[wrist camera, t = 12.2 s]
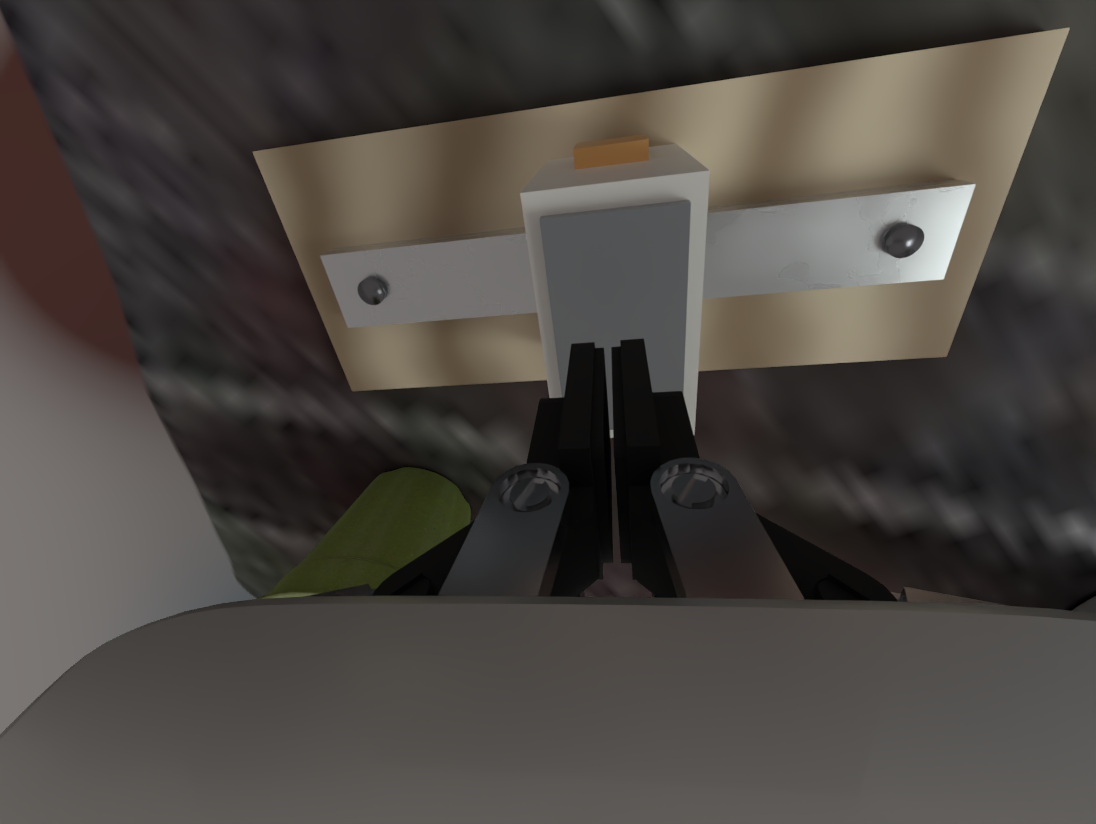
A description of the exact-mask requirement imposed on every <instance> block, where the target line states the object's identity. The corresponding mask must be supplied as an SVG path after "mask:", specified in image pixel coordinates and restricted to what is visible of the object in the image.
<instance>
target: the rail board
mask: <svg viewBox="0 0 1096 824" xmlns="http://www.w3.org/2000/svg"><path fill="white" fill-rule="evenodd" d="M1069 29H1070V28H1064V29H1056V30H1049V31H1042V32H1036V33H1029V34H1022V35H1016V36H1009V37H1003V38H996V39H990V40H983V41H976V42H970V43H963V44H957V45H950V46H943V47H937V48H930V49H924V50H917V51H911V52H904V53H897V54H891V55H884V56H878V57H871V58H864V59H858V60H851V61H845V62H838V63H832V64H825V65H818V66H812V67H805V68H799V69H792V70H785V71H779V72H772V73H766V74H759V75H753V76H746V77H739V78H733V79H726V80H720V81H713V82H706V83H700V84H693V85H687V86H680V87H674V88H667V89H660V90H654V91H647V92H641V93H634V94H627V95H621V96H614V97H608V98H601V99H595V100H588V101H581V102H575V103H568V104H562V105H555V106H548V107H542V108H535V109H529V110H522V111H516V112H509V113H502V114H496V115H489V116H483V117H476V118H469V119H463V120H456V121H450V122H443V123H437V124H430V125H423V126H417V127H410V128H404V129H397V130H390V131H384V132H377V133H371V134H364V135H358V136H351V137H344V138H338V139H331V140H325V141H318V142H311V143H305V144H298V145H292V146H285V147H279V148H272V149H266V150H260V151H254V152H253V155H254V157H255V159H256V162H257V164H258V167H259V169H260V171H261V174H262V176H263V179H264V181H265V183H266V186H267V188H268V191H269V193H270V195H271V198H272V200H273V203H274V205H275V207H276V210H277V212H278V215H279V217H280V219H281V222H282V224H283V227H284V229H285V231H286V234H287V236H288V239H289V241H290V243H291V246H292V248H293V251H294V253H295V255H296V258H297V260H298V263H299V265H300V267H301V270H302V272H303V275H304V277H305V279H306V282H307V284H308V287H309V289H310V291H311V294H312V296H313V299H314V301H315V303H316V306H317V308H318V311H319V313H320V315H321V318H322V320H323V323H324V325H325V327H326V330H327V332H328V335H329V337H330V339H331V342H332V344H333V347H334V349H335V351H336V354H337V356H338V359H339V361H340V363H341V366H342V368H343V371H344V373H345V375H346V378H347V380H348V383H349V385H350V387H351V390H352V391H365V390H382V389H400V388H417V387H434V386H451V385H468V384H486V383H503V382H520V381H537V380H547V376H546V369H545V363H544V356H543V349H542V342H541V335H540V328H539V321H538V314H537V313H525V314H512V315H500V316H488V317H476V318H463V319H451V320H439V321H426V322H414V323H402V324H390V325H377V326H365V327H353V328H348V327H347V324H346V322H345V319H344V317H343V314H342V311H341V309H340V306H339V304H338V301H337V299H336V296H335V293H334V291H333V288H332V286H331V283H330V281H329V278H328V275H327V273H326V270H325V268H324V265H323V263H322V260H321V257H320V255H322V254H324V253H325V252H327V251H329V250H331V249H332V248H340V247H349V246H358V245H367V244H376V243H385V242H394V241H403V240H412V239H421V238H430V237H439V236H448V235H457V234H466V233H475V232H484V231H493V230H502V229H511V228H520V227H525V224H524V217H523V210H522V203H521V196H520V192H521V191H522V190H523V189H524V188H525V187H526V186H527V184H528V183H529V182H530V181H531V180H532V179H533V178H534V176H535V175H536V174H537V173H538V172H539V171H540V170H541V168H542V167H543V166H544V165H545V164H546V163H547V162H548V160H553V159H561V158H568V157H574V153H573V148H574V147H575V145H576V144H577V143H583V142H591V141H598V140H606V139H613V138H621V137H628V136H636V135H643V134H645V135H646V136H647V138H648V139H649V147H654V146H661V145H669V144H677V145H678V146H680V147H681V148H682V149H683V150H685V151H686V152H687V153H688V154H690V155H691V156H692V157H693V158H695V159H696V160H697V161H699V162H700V163H701V164H702V165H704V166H705V167H706V168H707V169H709V170H710V176H709V194H708V206H717V205H726V204H735V203H744V202H753V201H762V200H771V199H780V198H789V197H798V196H807V195H816V194H824V193H833V192H842V191H851V190H860V189H869V188H878V187H887V186H896V185H905V184H914V183H923V182H932V181H941V180H950V179H958V180H962V181H966V182H970V183H974V184H976V185H975V188H974V191H973V194H972V197H971V200H970V203H969V206H968V209H967V212H966V215H965V218H964V221H963V223H962V226H961V229H960V232H959V235H958V238H957V241H956V244H955V247H954V250H953V253H952V256H951V259H950V262H949V265H948V268H947V271H946V274H945V277H944V279H941V280H929V281H917V282H905V283H892V284H880V285H868V286H856V287H843V288H831V289H819V290H807V291H794V292H782V293H770V294H758V295H745V296H733V297H721V298H708V299H702V314H701V332H700V349H699V366H698V371H709V370H726V369H744V368H761V367H778V366H795V365H812V364H830V363H847V362H864V361H881V360H898V359H916V358H933V357H947V354H948V351H949V349H950V346H951V343H952V341H953V338H954V335H955V333H956V330H957V327H958V325H959V322H960V319H961V317H962V314H963V311H964V309H965V306H966V303H967V301H968V298H969V295H970V293H971V290H972V287H973V285H974V282H975V279H976V277H977V274H978V271H979V269H980V266H981V263H982V261H983V258H984V255H985V253H986V250H987V247H988V245H989V242H990V239H991V237H992V234H993V231H994V229H995V226H996V223H997V221H998V218H999V215H1000V213H1001V210H1002V207H1003V205H1004V202H1005V199H1006V197H1007V194H1008V192H1009V189H1010V186H1011V184H1012V181H1013V178H1014V176H1015V173H1016V170H1017V168H1018V165H1019V162H1020V160H1021V157H1022V154H1023V152H1024V149H1025V146H1026V144H1027V141H1028V138H1029V136H1030V133H1031V130H1032V128H1033V125H1034V122H1035V120H1036V117H1037V114H1038V112H1039V109H1040V106H1041V104H1042V101H1043V98H1044V96H1045V93H1046V90H1047V88H1048V85H1049V82H1050V80H1051V77H1052V74H1053V72H1054V69H1055V66H1056V64H1057V61H1058V58H1059V56H1060V53H1061V50H1062V48H1063V45H1064V42H1065V40H1066V37H1067V34H1068V32H1069Z"/></svg>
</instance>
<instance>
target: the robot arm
mask: <svg viewBox="0 0 1096 824" xmlns="http://www.w3.org/2000/svg"><path fill="white" fill-rule="evenodd" d="M611 356H612V397H613V438H614V460H615V475H616V491H617V506H618V521H619V536H620V552H621V563H632V573H633V579H636V580H637V581H638V582H639V583H641V584H642V585H643V586H644V587H646V588H647V589H648V590H649V591H650V592H652V598H642V597H585V593H584V590H585V589H586V588H588V587H589V586H590V585H591V584H592V583H594V582H595V581H596V580H597V579H603V563H613V540H612V480H611V441H610V426H609V412H608V397H607V383H606V368H605V354H604V348H595V342H588V343H574V344H571V349H570V357H569V364H568V372H567V380H566V387H565V395H564V397H561V398H543V399H540V402H539V406H538V411H537V416H536V421H535V425H534V430H533V435H532V440H531V445H530V449H529V454H528V459H527V464H523V465H519V466H516V467H514V468H512V469H509V470H507V471H506V472H504V473H503V474H502V475H501V476H499V477H498V478H497V479H496V481H495V482H494V484H493V485H492V487H491V489H490V491H489V493H488V495H487V497H486V499H485V501H484V503H483V505H482V507H481V509H480V511H479V513H478V515H477V517H476V519H475V521H473V522H472V523H470V524H469V525H467V526H465V527H464V528H462V529H461V530H459V531H458V532H456V533H455V534H453V535H451V536H450V537H448V538H447V539H445V540H444V541H442V542H441V543H439V544H438V545H436V546H434V547H433V548H431V549H430V550H428V551H427V552H425V553H424V554H422V555H420V556H419V557H417V558H416V559H414V560H413V561H411V562H410V563H408V564H407V565H405V566H403V567H402V568H400V569H399V570H397V571H396V572H394V573H393V574H391V575H390V576H389V577H388V578H386V579H385V580H384V581H383V582H382V583H381V584H380V585H379V586H378V588H376V589H371V588H370V586H369V584H364V585H359V586H354V587H349V588H344V589H339V590H334V591H329V592H324V593H319V594H314V595H309V596H304V597H286V598H267V599H254V600H245V601H238V602H229V603H222V604H217V605H212V606H208V607H203V608H198V609H194V610H189V611H184V612H181V613H178V614H176V615H173V616H169V617H166V618H163V619H160V620H157V621H154V622H151V623H148V624H146V625H143V626H141V627H138V628H136V629H134V630H131V631H129V632H127V633H124V634H122V635H120V636H118V637H116V638H114V639H112V640H110V641H108V642H106V643H104V644H102V645H101V646H99V647H98V648H96V649H95V650H93V651H92V652H90V653H89V654H87V655H85V656H84V657H83V658H82V659H80V660H79V661H78V662H77V663H75V664H74V665H73V666H72V667H70V668H69V669H68V670H67V671H66V672H65V673H63V674H62V675H61V676H60V677H59V678H58V679H57V680H56V681H55V682H54V683H53V684H52V685H51V686H49V687H48V688H47V689H46V690H45V691H44V692H43V693H42V694H41V695H40V696H39V697H38V698H37V699H35V700H34V701H33V702H32V703H31V704H30V705H29V706H28V707H27V708H26V709H25V710H24V711H23V712H22V713H21V714H20V715H19V716H18V717H17V718H16V719H15V720H14V721H13V722H12V723H11V724H10V725H9V726H8V727H7V728H6V729H5V730H4V731H3V732H2V733H1V734H0V824H1096V596H1094V597H1092V598H1091V599H1089V600H1087V601H1086V602H1084V603H1082V604H1080V605H1079V606H1077V607H1076V608H1075V609H1073V610H1072V611H1068V610H1059V609H1051V608H1034V607H1016V606H1007V605H1002V604H996V603H991V602H985V601H980V600H974V599H968V598H963V597H957V596H952V595H946V594H941V593H935V592H930V591H924V590H919V589H913V588H908V587H904V588H903V590H902V592H901V594H899V593H894V592H890V591H889V590H888V589H887V588H886V587H885V586H884V585H883V584H881V583H880V582H878V581H877V580H875V579H874V578H872V577H871V576H869V575H868V574H866V573H864V572H862V571H861V570H859V569H857V568H855V567H853V566H851V565H850V564H848V563H846V562H844V561H842V560H840V559H839V558H837V557H835V556H833V555H831V554H830V553H828V552H826V551H824V550H822V549H820V548H819V547H817V546H815V545H813V544H811V543H809V542H808V541H806V540H804V539H802V538H800V537H799V536H797V535H795V534H793V533H791V532H789V531H788V530H786V529H784V528H782V527H780V526H778V525H777V524H775V523H773V522H771V521H769V520H768V519H766V518H764V517H762V516H760V515H758V514H757V513H755V511H754V510H753V508H752V506H751V504H750V503H749V501H748V499H747V497H746V496H745V494H744V492H743V490H742V489H741V487H740V485H739V483H738V482H737V480H736V478H735V477H734V476H733V475H732V474H731V472H730V471H729V470H727V469H726V468H724V467H723V466H721V465H720V464H717V463H715V462H712V461H709V460H706V459H700V458H699V454H698V451H697V447H696V443H695V439H694V435H693V431H692V427H691V423H690V419H689V415H688V411H687V407H686V403H685V400H684V396H683V393H682V391H669V392H652V387H651V381H650V374H649V368H648V362H647V355H646V349H645V342H644V338H643V339H629V340H620V346H618V347H611Z"/></svg>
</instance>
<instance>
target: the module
mask: <svg viewBox="0 0 1096 824" xmlns="http://www.w3.org/2000/svg"><path fill="white" fill-rule="evenodd" d="M573 153H574V157H568V158H561V159H553V160H548V162H547V163H546V164H545V165H544V166H543V167H542V168H541V170H540V171H539V172H538V173H537V174H536V175H535V176H534V178H533V179H532V180H531V181H530V182H529V183H528V184H527V186H526V187H525V188H524V189H523V190H522V191H521V192H520V196H521V203H522V210H523V217H524V224H525V231H526V238H527V245H528V252H529V259H530V266H531V273H532V280H533V286H534V293H535V300H536V307H537V314H538V321H539V328H540V335H541V342H542V349H543V356H544V363H545V369H546V376H547V383H548V390H549V397H550V398H561V397H564V395H565V387H566V380H567V372H568V364H569V357H570V349H571V344H574V343H588V342H595V348H604V354H605V368H606V383H607V397H608V412H609V426H610V438H613V397H612V356H611V347H618V346H620V340H629V339H643V338H644V342H645V349H646V355H647V362H648V368H649V374H650V381H651V387H652V392H669V391H682V393H683V396H684V400H685V403H686V407H687V411H688V415H689V419H690V423H691V427H692V431H693V435H695V418H696V401H697V383H698V366H699V349H700V332H701V314H702V297H703V280H704V263H705V245H706V228H707V211H708V194H709V176H710V170H709V169H707V168H706V167H705V166H704V165H702V164H701V163H700V162H699V161H697V160H696V159H695V158H693V157H692V156H691V155H690V154H688V153H687V152H686V151H685V150H683V149H682V148H681V147H680V146H678V145H677V144H669V145H661V146H654V147H649V139H648V138H647V136H646V135H645V134H643V135H636V136H628V137H621V138H613V139H606V140H598V141H591V142H583V143H577V144H576V145H575V147H574V148H573Z"/></svg>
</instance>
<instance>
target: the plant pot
mask: <svg viewBox="0 0 1096 824" xmlns="http://www.w3.org/2000/svg"><path fill="white" fill-rule="evenodd" d="M470 518H471V510H470V506H469V503H467V502H466V500H465V499H464V497H463V495H462V494H461V492H460V490H459V488H458V487H457V486H456V485H455V484H453V483H452V482H451V481H449V480H448V479H446V478H444V477H443V476H441V475H439V474H436V473H434V472H431V471H428V470H425V469H420V468H412V467H403V468H400V469H397V470H394V471H390V472H385V473H382V474H380V475H379V476H377V477H376V478H375V479H374V480H373V481H372V482H371V484H370V485H369V486H368V487H367V488H366V489H365V490H364V492H363V493H362V494H361V495H360V496H359V497H358V498H357V500H356V501H355V502H354V503H353V504H352V505H351V506H350V508H349V509H348V510H347V511H346V512H345V513H344V514H343V516H342V517H341V518H340V519H339V520H338V521H337V522H336V523H335V525H334V526H333V527H332V528H331V529H330V530H329V531H328V533H327V534H326V535H325V536H324V537H323V538H322V539H321V540H320V542H319V543H318V544H317V545H316V546H315V547H314V548H313V550H312V551H311V552H310V553H309V554H308V555H307V556H306V557H305V559H304V560H303V561H302V562H301V563H300V564H299V565H298V566H296V567H295V568H293V569H291V570H290V571H289V572H288V573H287V574H286V575H285V576H284V577H283V578H282V579H281V580H280V581H279V582H278V583H277V584H276V586H275V587H274V588H273V589H272V590H271V591H270V592H269V593H268V594H267V595H265V596H262V597H259V598H257V599H267V598H286V597H304V596H309V595H314V594H319V593H324V592H329V591H334V590H339V589H344V588H349V587H354V586H359V585H364V584H369V586H370V588H371V589H376V588H378V586H379V585H380V584H381V583H382V582H383V581H384V580H385V579H386V578H388V577H389V576H390V575H391V574H393V573H394V572H396V571H397V570H399V569H400V568H402V567H403V566H405V565H407V564H408V563H410V562H411V561H413V560H414V559H416V558H417V557H419V556H420V555H422V554H424V553H425V552H427V551H428V550H430V549H431V548H433V547H434V546H436V545H438V544H439V543H441V542H442V541H444V540H445V539H447V538H448V537H450V536H451V535H453V534H455V533H456V532H458V531H459V530H461V529H462V528H464V527H465V526H467V525H469V524H470Z"/></svg>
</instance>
